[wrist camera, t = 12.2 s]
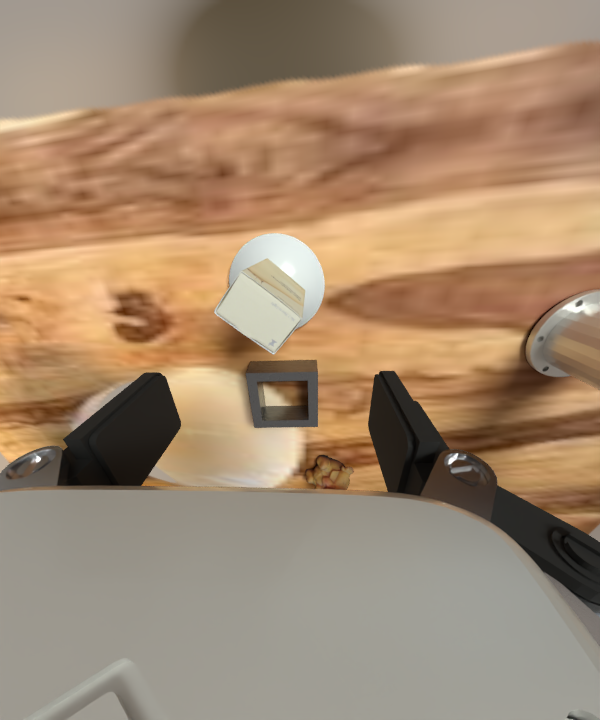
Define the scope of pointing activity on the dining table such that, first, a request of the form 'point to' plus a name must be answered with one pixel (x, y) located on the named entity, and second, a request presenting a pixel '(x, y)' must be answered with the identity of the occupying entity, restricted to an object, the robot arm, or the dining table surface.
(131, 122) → the dining table surface
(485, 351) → the dining table surface
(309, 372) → the socket block
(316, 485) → the figurine
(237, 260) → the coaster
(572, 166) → the dining table surface
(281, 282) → the skincare box
